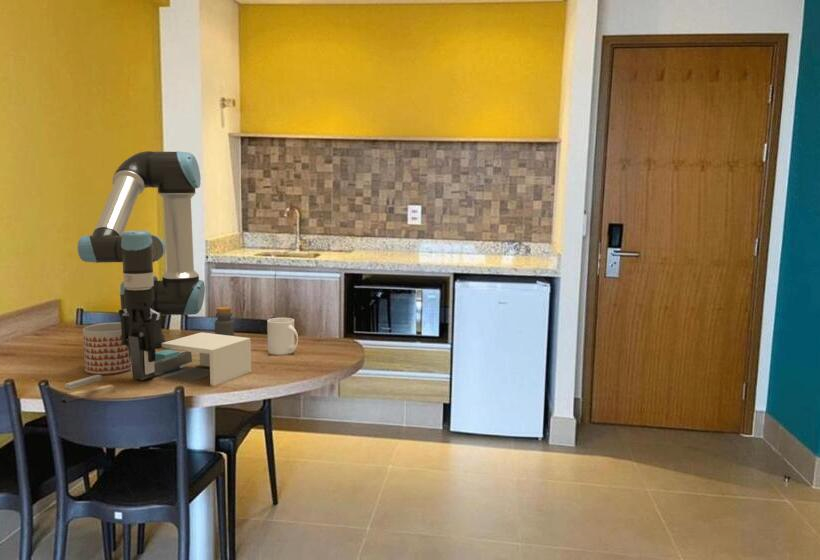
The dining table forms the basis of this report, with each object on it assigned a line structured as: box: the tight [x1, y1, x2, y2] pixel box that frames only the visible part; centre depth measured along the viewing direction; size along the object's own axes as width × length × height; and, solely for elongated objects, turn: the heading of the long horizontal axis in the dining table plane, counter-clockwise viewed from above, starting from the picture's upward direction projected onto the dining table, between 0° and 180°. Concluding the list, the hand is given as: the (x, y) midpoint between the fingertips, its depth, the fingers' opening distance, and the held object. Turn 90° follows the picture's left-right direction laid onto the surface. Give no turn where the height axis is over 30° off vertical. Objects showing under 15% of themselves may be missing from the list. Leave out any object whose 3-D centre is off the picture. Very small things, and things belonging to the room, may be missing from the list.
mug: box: [266, 317, 299, 356], centre depth 215 cm, size 9×12×11 cm
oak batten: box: [67, 384, 116, 398], centre depth 168 cm, size 12×2×2 cm, turn 138°
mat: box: [155, 365, 210, 382], centre depth 191 cm, size 22×11×1 cm, turn 66°
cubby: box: [161, 331, 252, 387], centre depth 187 cm, size 18×16×10 cm
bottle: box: [214, 306, 235, 336], centre depth 213 cm, size 6×6×15 cm
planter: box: [82, 322, 131, 376], centre depth 193 cm, size 14×14×13 cm
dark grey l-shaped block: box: [129, 333, 193, 381], centre depth 187 cm, size 4×18×12 cm, turn 149°
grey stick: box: [64, 375, 103, 390], centre depth 179 cm, size 2×10×2 cm, turn 156°
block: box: [154, 349, 180, 372], centre depth 193 cm, size 5×5×5 cm
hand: (142, 371), depth 182 cm, fingers closed on dark grey l-shaped block, 4 cm apart
